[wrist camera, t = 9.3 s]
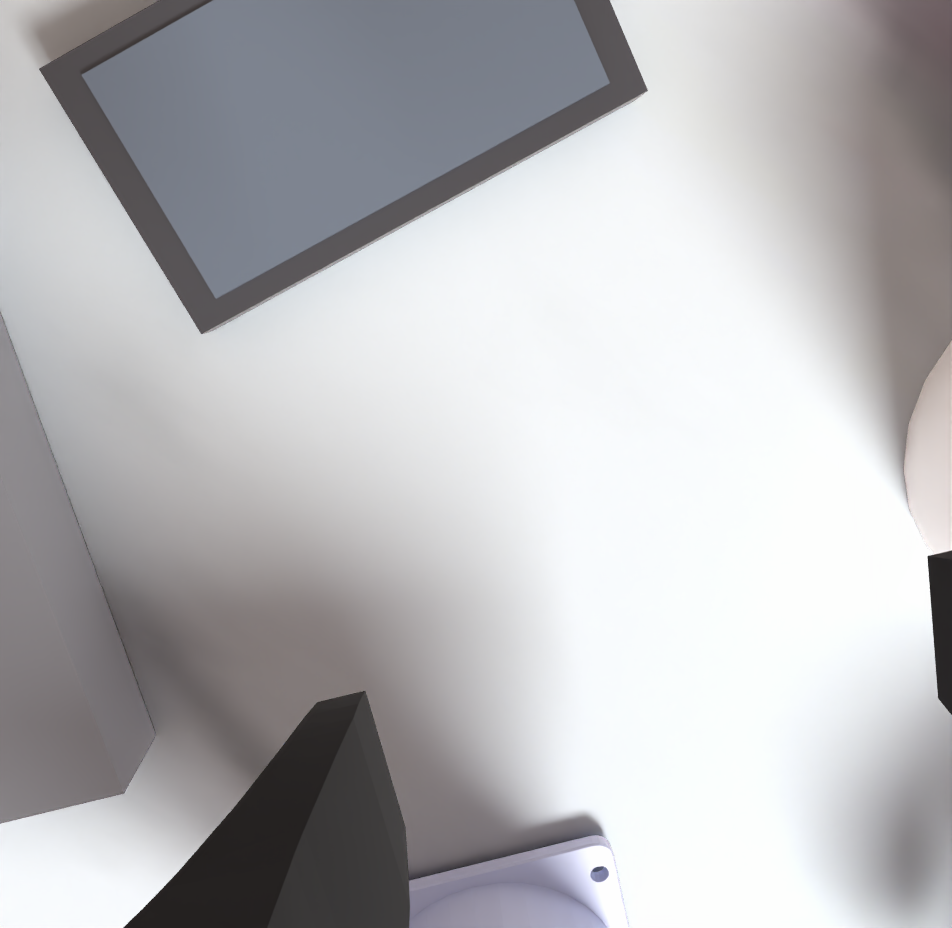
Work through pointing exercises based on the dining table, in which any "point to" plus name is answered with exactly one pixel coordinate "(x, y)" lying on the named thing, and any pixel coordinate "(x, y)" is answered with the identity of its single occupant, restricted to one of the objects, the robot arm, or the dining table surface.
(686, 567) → the dining table surface
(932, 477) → the white rounded block
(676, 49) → the dining table surface
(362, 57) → the tablet with stylus
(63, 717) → the socket plate
